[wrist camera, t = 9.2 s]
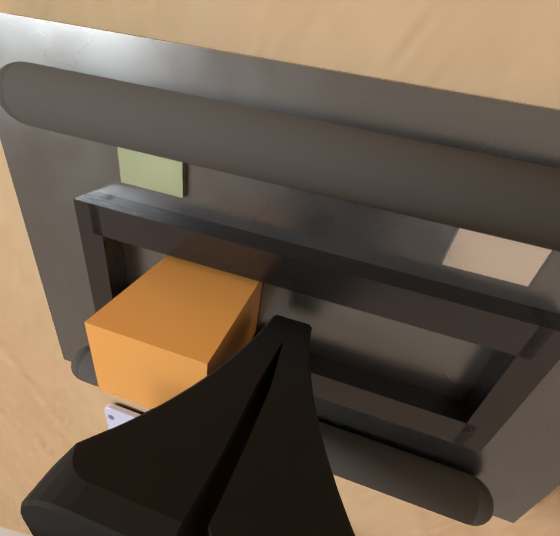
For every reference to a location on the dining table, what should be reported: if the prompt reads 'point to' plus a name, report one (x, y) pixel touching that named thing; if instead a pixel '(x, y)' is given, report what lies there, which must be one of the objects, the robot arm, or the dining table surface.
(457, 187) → the grey rails and frame
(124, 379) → the orange rectangular box
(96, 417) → the dining table surface
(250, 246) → the plate
